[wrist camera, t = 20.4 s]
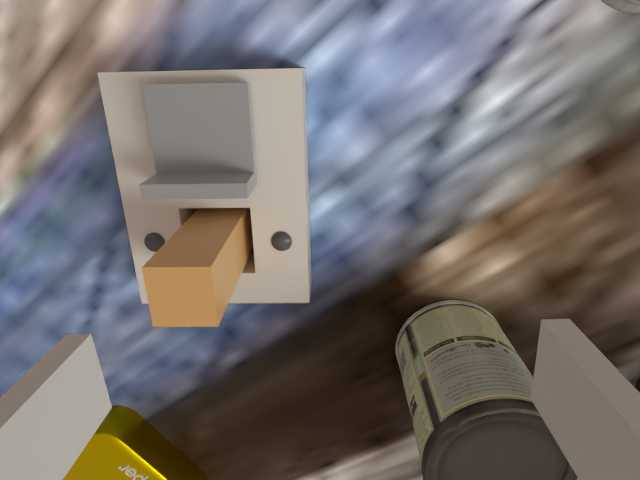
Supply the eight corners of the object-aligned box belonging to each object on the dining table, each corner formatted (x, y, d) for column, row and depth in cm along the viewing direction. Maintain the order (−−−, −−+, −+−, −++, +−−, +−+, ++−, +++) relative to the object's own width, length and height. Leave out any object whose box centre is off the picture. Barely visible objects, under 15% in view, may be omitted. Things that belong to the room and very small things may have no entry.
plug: (250, 202, 37) (210, 267, 25) (253, 245, 38) (217, 326, 26) (203, 202, 37) (141, 267, 25) (209, 246, 39) (152, 326, 26)
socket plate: (311, 280, 40) (309, 303, 36) (159, 281, 40) (141, 304, 36) (305, 68, 33) (301, 68, 29) (123, 72, 33) (96, 72, 30)
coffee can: (517, 366, 42) (600, 499, 29) (418, 402, 44) (455, 542, 31) (482, 280, 39) (558, 387, 26) (377, 323, 41) (398, 443, 28)
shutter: (257, 183, 32) (247, 198, 28) (163, 184, 32) (141, 199, 28) (250, 81, 29) (238, 83, 26) (148, 83, 30) (121, 86, 26)
